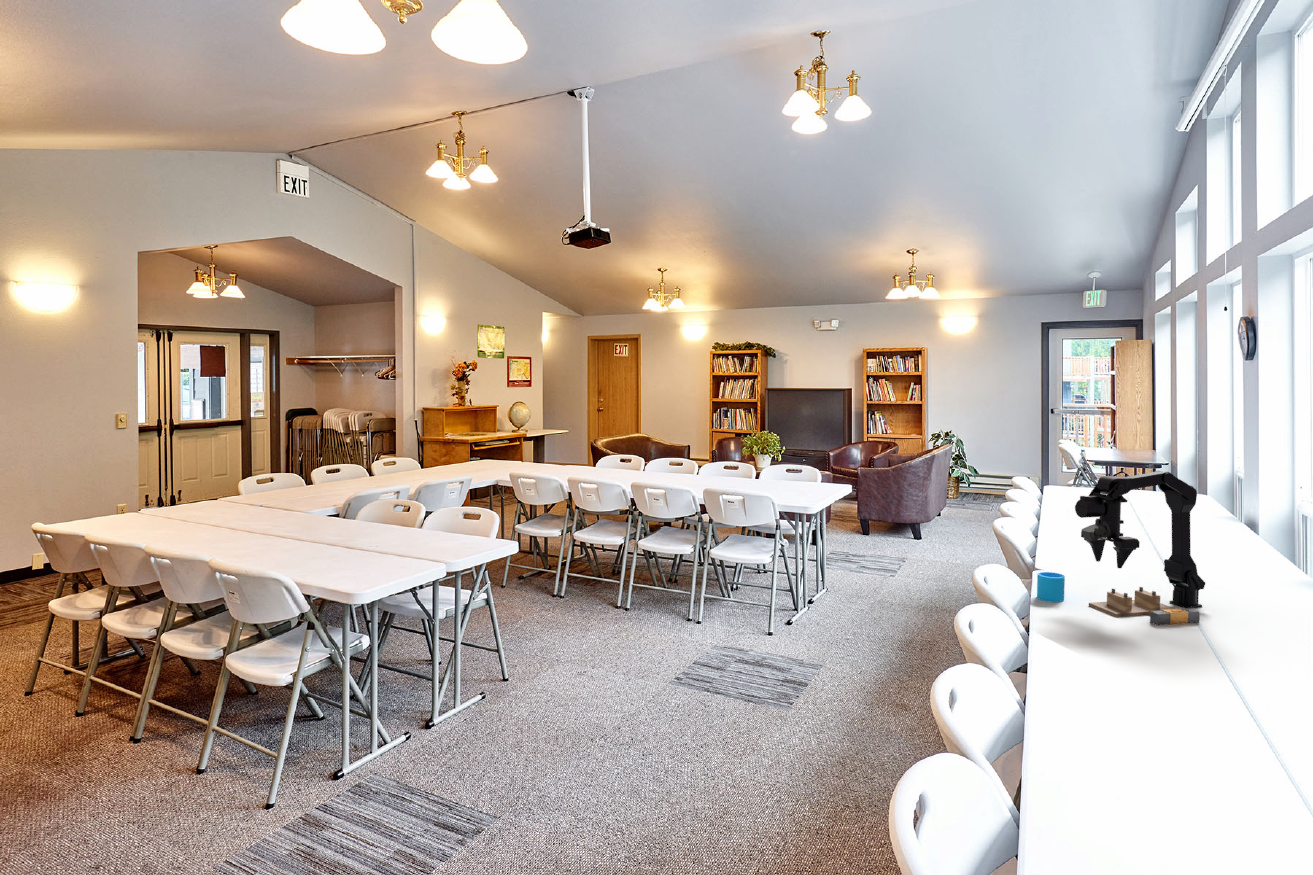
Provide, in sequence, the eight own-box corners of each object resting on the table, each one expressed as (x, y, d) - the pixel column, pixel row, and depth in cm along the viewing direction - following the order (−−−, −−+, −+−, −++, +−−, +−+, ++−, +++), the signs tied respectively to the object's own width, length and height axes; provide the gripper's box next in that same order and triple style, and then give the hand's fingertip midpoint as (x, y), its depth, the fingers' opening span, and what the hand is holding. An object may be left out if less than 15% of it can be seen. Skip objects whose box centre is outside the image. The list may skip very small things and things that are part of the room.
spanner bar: (1190, 619, 230) (1191, 607, 230) (1199, 622, 227) (1199, 610, 227) (1149, 622, 228) (1150, 610, 228) (1158, 625, 225) (1158, 613, 225)
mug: (1059, 603, 248) (1060, 579, 248) (1033, 598, 254) (1034, 575, 254) (1070, 596, 257) (1071, 572, 256) (1045, 591, 263) (1045, 568, 262)
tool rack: (1148, 601, 249) (1149, 583, 248) (1179, 612, 237) (1179, 593, 236) (1088, 605, 245) (1089, 587, 245) (1116, 616, 234) (1116, 597, 233)
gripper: (1066, 512, 247) (1065, 559, 248) (1108, 522, 228) (1107, 573, 229) (1097, 511, 248) (1096, 557, 249) (1141, 521, 230) (1140, 571, 231)
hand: (1108, 564), depth 240 cm, fingers open, 9 cm apart
